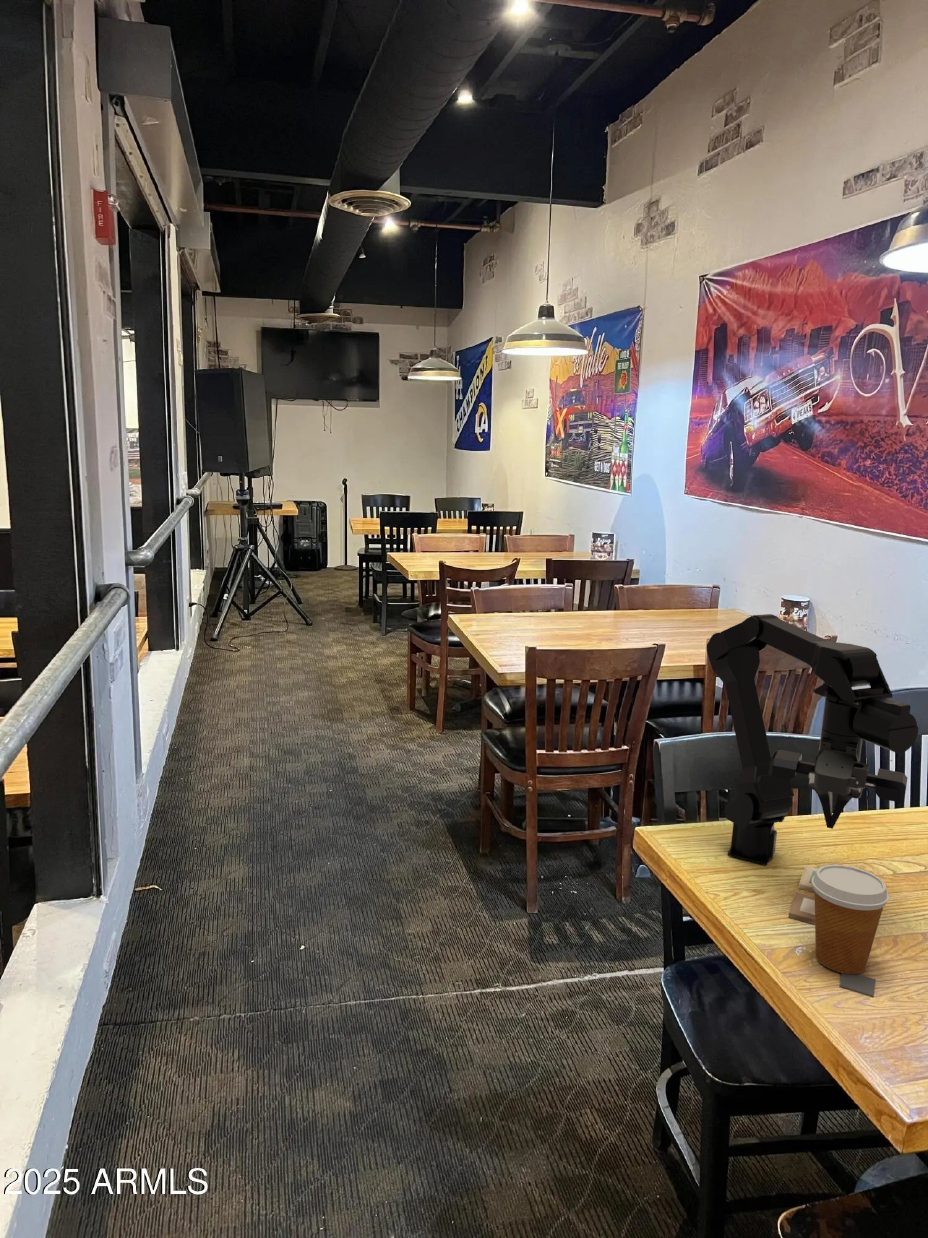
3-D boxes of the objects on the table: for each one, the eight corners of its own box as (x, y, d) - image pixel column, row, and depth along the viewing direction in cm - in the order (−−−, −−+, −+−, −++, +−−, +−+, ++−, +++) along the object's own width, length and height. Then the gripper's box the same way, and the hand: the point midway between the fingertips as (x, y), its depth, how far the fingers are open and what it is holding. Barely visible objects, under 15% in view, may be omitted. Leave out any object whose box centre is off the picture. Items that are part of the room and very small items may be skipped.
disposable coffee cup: (803, 971, 112) (813, 887, 110) (803, 936, 121) (812, 857, 119) (882, 989, 109) (893, 902, 107) (876, 952, 118) (886, 871, 116)
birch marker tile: (798, 888, 134) (799, 883, 134) (805, 870, 140) (805, 865, 140) (846, 901, 131) (847, 895, 131) (850, 881, 137) (851, 876, 137)
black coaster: (839, 986, 110) (839, 985, 109) (842, 970, 113) (843, 969, 113) (873, 997, 108) (873, 996, 108) (875, 980, 111) (875, 979, 111)
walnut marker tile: (788, 917, 126) (789, 912, 125) (795, 896, 132) (796, 891, 131) (839, 931, 122) (839, 926, 122) (844, 909, 128) (845, 904, 128)
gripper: (767, 733, 123) (756, 832, 126) (910, 759, 114) (895, 865, 117) (780, 713, 133) (770, 806, 136) (913, 736, 124) (899, 835, 127)
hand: (830, 827), depth 129 cm, fingers closed
